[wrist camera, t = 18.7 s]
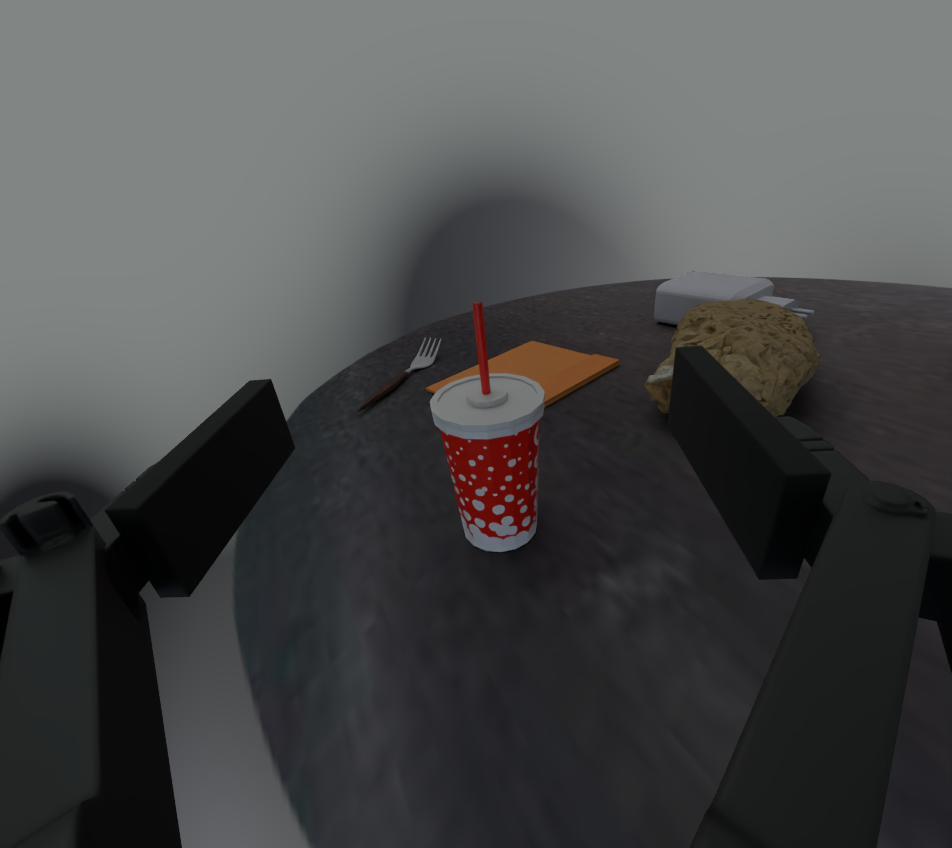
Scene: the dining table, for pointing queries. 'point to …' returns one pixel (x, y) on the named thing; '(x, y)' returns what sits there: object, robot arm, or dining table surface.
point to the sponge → (745, 350)
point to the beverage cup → (492, 450)
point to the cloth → (544, 368)
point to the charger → (713, 294)
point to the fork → (403, 374)
